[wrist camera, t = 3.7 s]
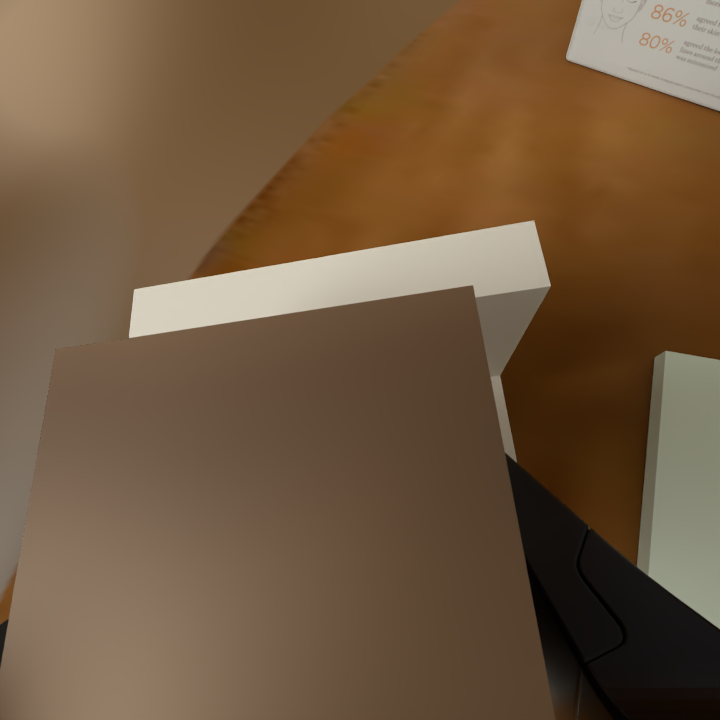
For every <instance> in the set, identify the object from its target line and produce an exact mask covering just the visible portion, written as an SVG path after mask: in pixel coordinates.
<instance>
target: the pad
mask: <svg viewBox="0 0 720 720" xmlns="http://www.w3.org/2000/svg"><path fill="white" fill-rule="evenodd" d="M637 567H638V568H639V569H640V570H642V571H643V572H644V573H645V574H647V575H648V576H649V577H651V578H652V579H653V580H655V581H656V582H657V583H659V584H660V585H661V586H662V587H664V588H665V589H666V590H668V591H669V592H670V593H672V594H673V595H674V596H676V597H677V598H678V599H680V600H681V601H682V602H684V603H685V604H687V605H688V606H689V607H691V608H692V609H693V610H695V611H696V612H697V613H699V614H700V615H701V616H703V617H704V618H706V619H707V620H708V621H710V622H711V623H712V624H714V625H715V626H716V627H718V628H719V629H720V360H717V359H711V358H705V357H699V356H693V355H688V354H682V353H676V352H670V351H664V352H663V353H661V354H659V355H658V356H656V357H655V358H654V370H653V382H652V394H651V405H650V417H649V429H648V441H647V453H646V465H645V476H644V488H643V500H642V512H641V524H640V536H639V547H638V559H637Z"/></svg>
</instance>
